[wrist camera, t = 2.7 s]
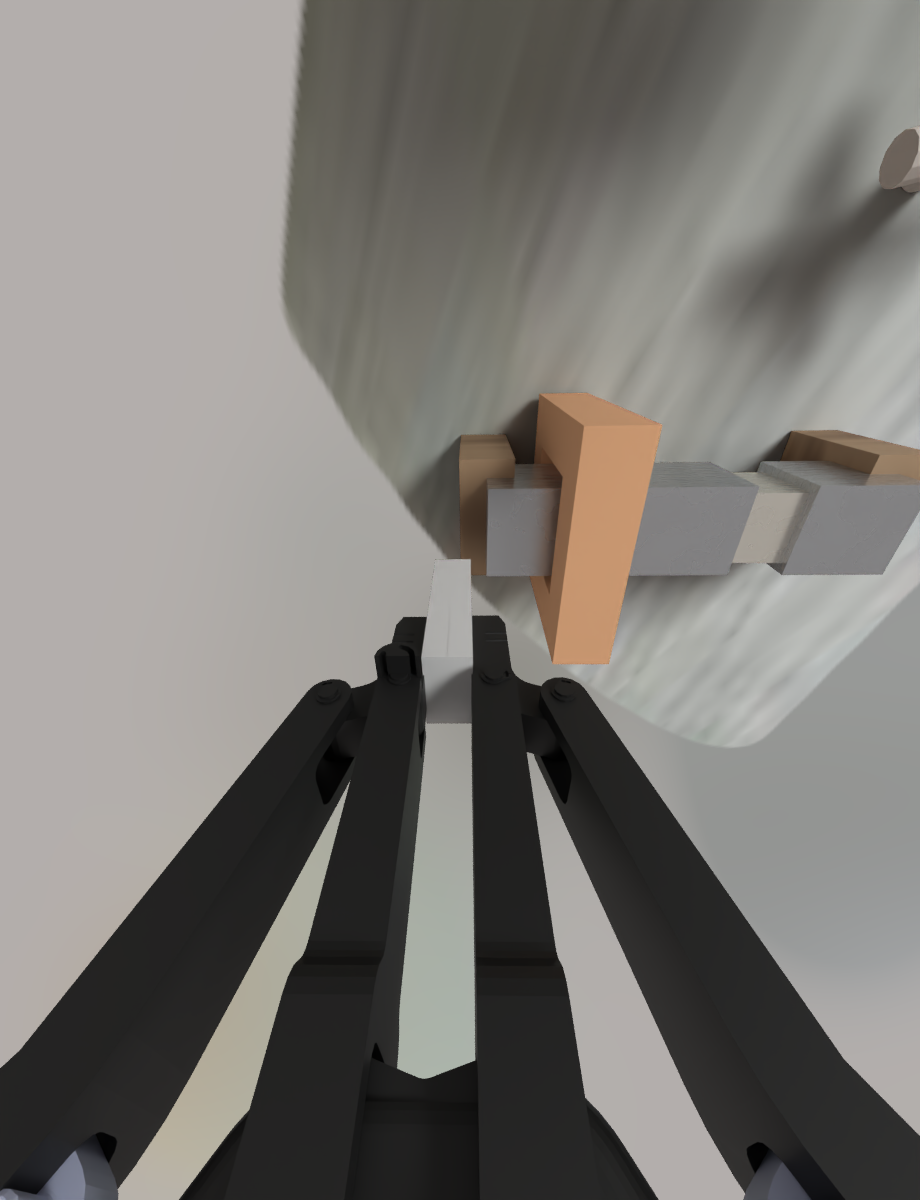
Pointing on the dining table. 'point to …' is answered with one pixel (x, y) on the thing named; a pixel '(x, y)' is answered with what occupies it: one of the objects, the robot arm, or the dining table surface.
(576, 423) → the peach rectangular loop
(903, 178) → the pipe connector
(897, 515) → the grey long bar
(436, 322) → the dining table surface
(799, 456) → the stand
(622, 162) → the dining table surface
